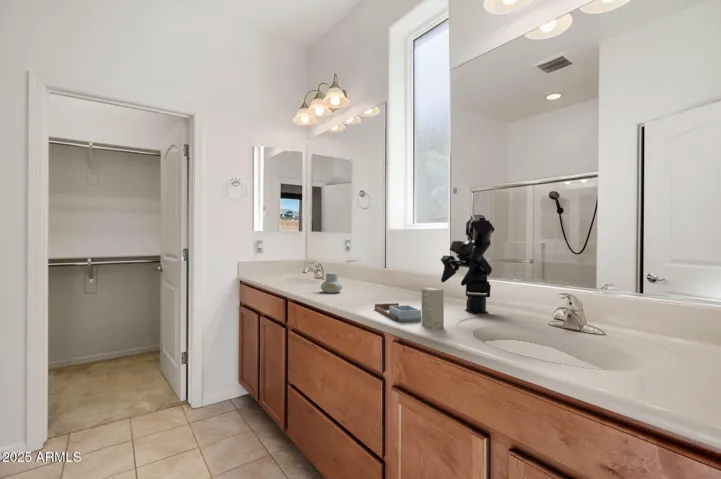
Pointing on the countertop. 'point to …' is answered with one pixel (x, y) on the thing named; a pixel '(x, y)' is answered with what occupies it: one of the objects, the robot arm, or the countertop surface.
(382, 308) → the bay
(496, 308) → the countertop surface
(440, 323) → the skincare box
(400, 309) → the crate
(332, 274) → the air freshener
